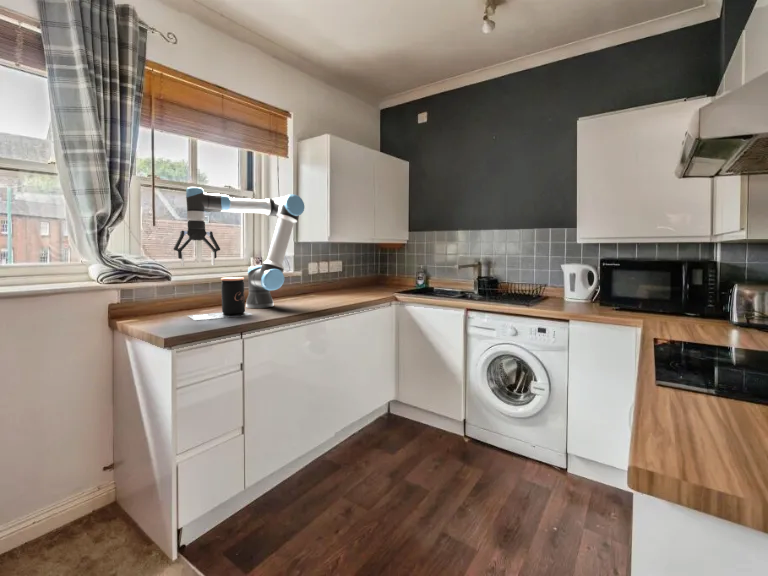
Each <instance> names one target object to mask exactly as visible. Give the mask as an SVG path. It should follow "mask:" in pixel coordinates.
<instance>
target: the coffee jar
mask: <svg viewBox="0 0 768 576" xmlns="http://www.w3.org/2000/svg"><path fill="white" fill-rule="evenodd" d="M220 280H221V283H220V285H221V286H220V287H221V289H220V291H221V312H223V314H224V315H240V314H243V313H244V312H246V302H245V301H246V298H245V283H244V280H245V277H241V276H239V277H238V276H237V277H236V276H234V277H233V276H231V277H228V276H227V277H221V278H220Z"/></svg>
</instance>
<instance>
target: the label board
mask: <svg viewBox="0 0 768 576" xmlns="http://www.w3.org/2000/svg"><path fill="white" fill-rule="evenodd" d="M247 316H253V314H252V313H249V312H246V311H245V312H244V313H243V314H240V315H224V314H223V312H222V311H221V312H214V313H213V312H212V313H211V312H210V313H202V314H191V315H189V314H188V315H187V317H188V318H190V319H192V321H195V322H196V321H197V322H198V321H199V322H200V321H207V320H209V321H210V320H217V319H226V318H237V317H238V318H239V317H247Z"/></svg>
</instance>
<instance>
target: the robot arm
mask: <svg viewBox="0 0 768 576" xmlns="http://www.w3.org/2000/svg"><path fill="white" fill-rule="evenodd" d="M185 191H186V192H185V193H186V194H185V198H186V215H187V217H186V219H187V220H188V221H187V230H180V232H179V233H180V234H179V237H178V238H177V240H176V243H175V244H174V247H173V250H174V251H175V252H177V256H178V257H177V258H178V259H180V266H181V267H184V266H185V257H184V254H185V252H184V251H183V250H184V249H185V248H186V246H188V244H190V242H191V241H202V242H203V243H204V244H205V245H206V246H207V247H209V248H210V250H211V251H210V254H211V255H210V256H211V260H210V261H211V265H212V266H215V265H216V263H215V259H217V258H218V257H217V252H218V251H221V247H220V245H219V244H218V242H217V240H216V239H215V237H214V232H213V231H212V230H211V231H206V222H205V220H206V217H205V216H206V215H205V213H212V212H213V213H236V214H237V213H239V214H262V215H263V214H264V216H269V217H271V216H272V217H277V223H276V226H275V230H274V233H273V236H272V239H271V243H270V246H269V250H268V254H267V257H266V260H265V261H263V262H262V264H261V265H255V266H254V265H252V266H249V267H248V269H247V277H248V278H247V279H248V281H247V282H248V295H247V298H246V300H245V301H246V302H245V308H249V309H265V308H271V307H274V305H275V304H274V300H273V297H272V294H271V291H276V290H279V289H280V288H282V287H283V285H284V283H285V275H284V269H285V268H284V266H283V263H284V260H285V256H286V252H287V248H288V245H289V241H290V238H291V236H292V230H293V227H294V224H297V223H298V219H299V217H300V216H301V215H302V214H303V213H304V211H305V202H304V200H303V199H302V197H301V196H299V195H298V194H294V193H293V194H287V195H282V196H279V197H278V196H277V197H273V198H265V199H255V198H253V199H251V198H235V197H233V198H232V197H230V195H227V194H222V193H221V194H220V193H207V192H205V191H204V189H203V188H202V187H197V186H189V187H187V188H186V189H185ZM186 235H187V236H188V238H187V239H186V240H185V241H184V242H183V243H182V241H183V239H184V237H185V236H186ZM206 235H207V236H208V237H209V239H210V241H211V242H212V244H213V245H212V244H211V242H210V241H209V240H208V239H207V238H206ZM181 243H182V244H181ZM180 245H181V246H180ZM179 246H180V247H179Z"/></svg>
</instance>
